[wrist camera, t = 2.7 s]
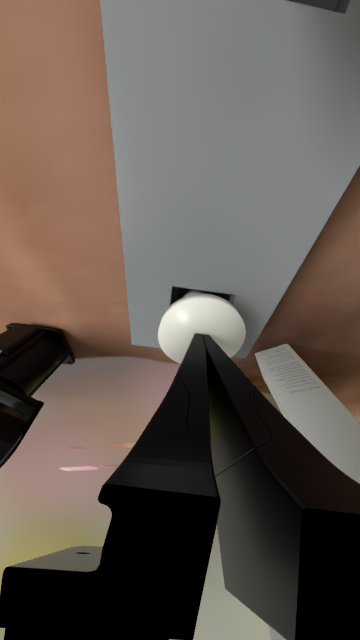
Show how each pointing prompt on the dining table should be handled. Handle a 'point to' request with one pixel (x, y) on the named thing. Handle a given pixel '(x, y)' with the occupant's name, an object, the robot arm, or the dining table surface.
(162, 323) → the white plunger
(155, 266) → the block
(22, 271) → the dining table surface
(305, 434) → the skincare box
